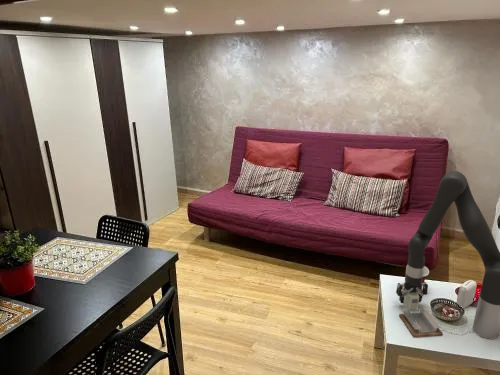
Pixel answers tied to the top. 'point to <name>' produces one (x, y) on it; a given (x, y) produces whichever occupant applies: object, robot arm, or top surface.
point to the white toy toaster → (466, 293)
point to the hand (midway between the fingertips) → (410, 301)
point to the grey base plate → (422, 321)
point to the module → (411, 300)
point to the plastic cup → (424, 275)
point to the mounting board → (414, 332)
